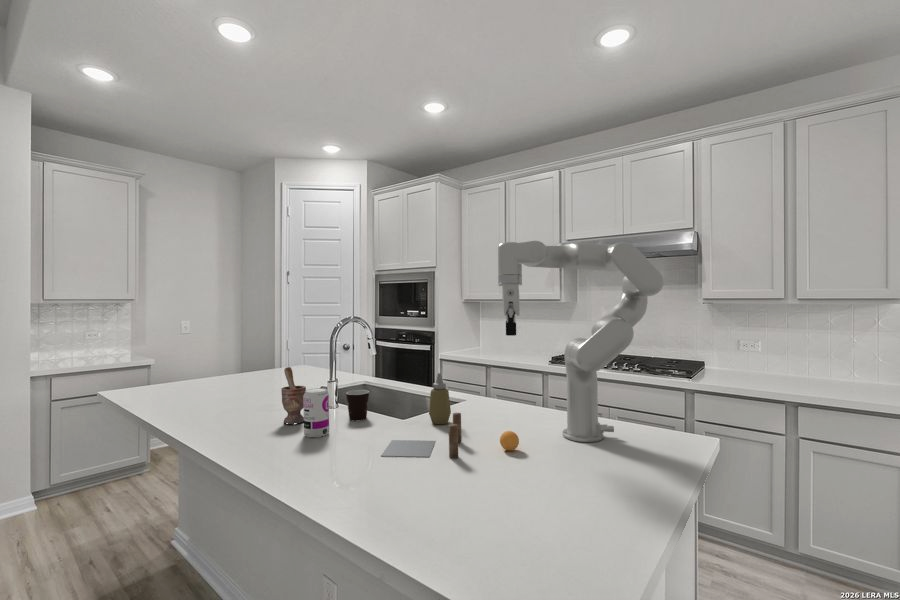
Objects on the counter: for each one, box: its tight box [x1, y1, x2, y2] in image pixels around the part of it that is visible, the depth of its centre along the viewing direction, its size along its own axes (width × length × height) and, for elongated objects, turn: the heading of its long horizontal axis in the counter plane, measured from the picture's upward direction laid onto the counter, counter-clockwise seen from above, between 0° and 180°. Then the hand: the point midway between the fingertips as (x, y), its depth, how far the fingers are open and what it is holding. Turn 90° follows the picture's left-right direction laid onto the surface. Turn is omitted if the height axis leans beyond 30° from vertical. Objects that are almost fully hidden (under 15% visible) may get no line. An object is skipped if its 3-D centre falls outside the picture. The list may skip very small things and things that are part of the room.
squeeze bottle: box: [428, 372, 452, 425], centre depth 159 cm, size 8×8×18 cm
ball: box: [499, 430, 520, 452], centre depth 128 cm, size 6×6×6 cm
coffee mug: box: [345, 389, 370, 422], centre depth 168 cm, size 12×9×10 cm
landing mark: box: [380, 439, 436, 458], centre depth 131 cm, size 14×14×1 cm
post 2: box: [448, 423, 459, 460], centre depth 124 cm, size 3×3×9 cm
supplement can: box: [303, 387, 330, 438], centre depth 147 cm, size 8×8×15 cm
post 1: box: [452, 412, 462, 445], centre depth 136 cm, size 3×3×9 cm
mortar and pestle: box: [281, 366, 307, 424], centre depth 163 cm, size 12×9×20 cm
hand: (510, 334), depth 140 cm, fingers open, 9 cm apart
